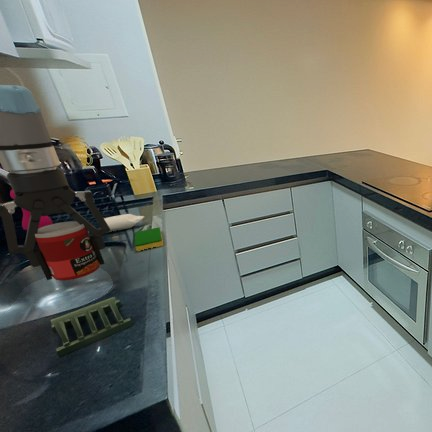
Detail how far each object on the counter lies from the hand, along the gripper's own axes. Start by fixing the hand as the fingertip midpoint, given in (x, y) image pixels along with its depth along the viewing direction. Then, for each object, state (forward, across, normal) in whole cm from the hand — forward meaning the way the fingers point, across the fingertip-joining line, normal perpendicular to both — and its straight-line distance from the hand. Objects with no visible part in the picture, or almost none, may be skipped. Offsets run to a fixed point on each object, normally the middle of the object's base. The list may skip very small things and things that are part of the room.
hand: (76, 269), depth 66 cm
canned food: (+1, 0, 0) cm, 1 cm away
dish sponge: (+10, +19, +31) cm, 38 cm away
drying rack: (+9, -1, -11) cm, 15 cm away
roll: (+10, +17, +52) cm, 56 cm away
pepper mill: (+11, -4, +69) cm, 70 cm away
